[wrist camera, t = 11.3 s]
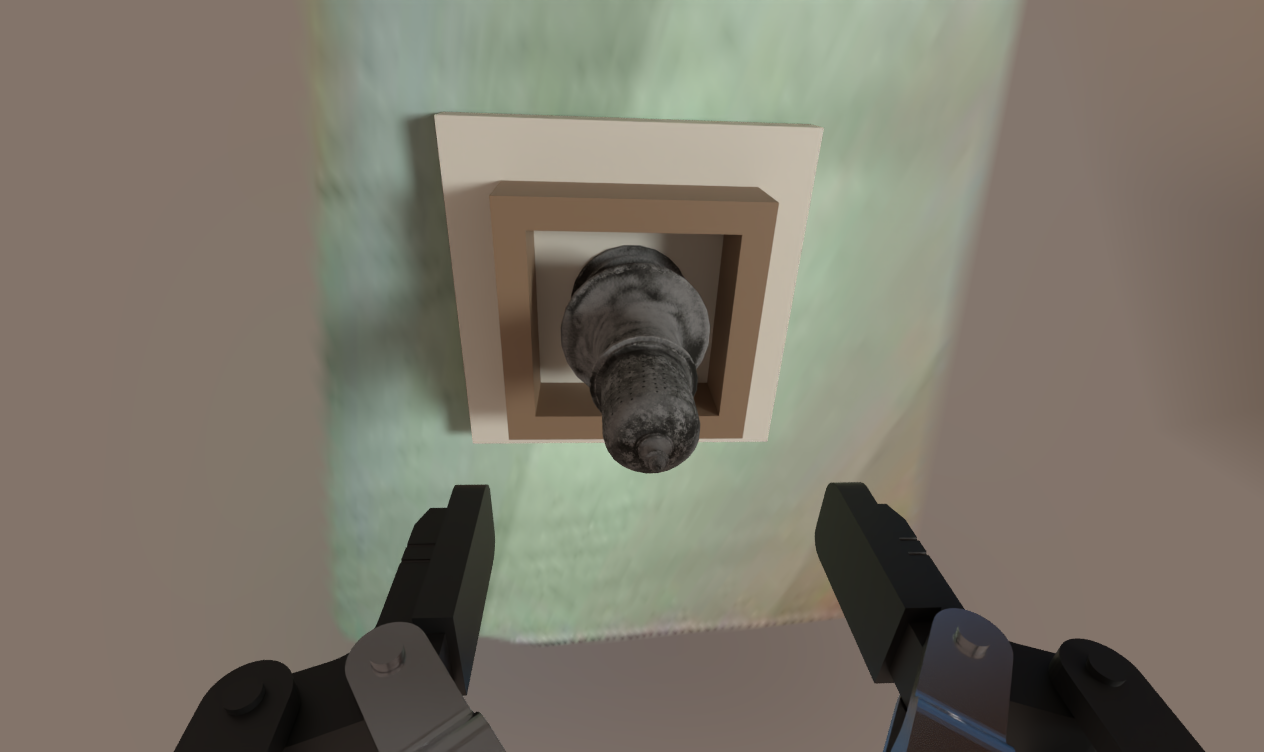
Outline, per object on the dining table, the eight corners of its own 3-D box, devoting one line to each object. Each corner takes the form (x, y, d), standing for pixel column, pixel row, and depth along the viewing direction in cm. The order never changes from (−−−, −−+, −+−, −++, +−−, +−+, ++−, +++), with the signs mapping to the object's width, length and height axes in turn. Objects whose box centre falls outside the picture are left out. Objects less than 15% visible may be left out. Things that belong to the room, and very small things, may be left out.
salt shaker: (553, 246, 24) (525, 386, 14) (692, 230, 24) (771, 357, 14) (574, 368, 27) (564, 564, 16) (698, 353, 27) (768, 538, 16)
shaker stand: (443, 111, 23) (412, 122, 19) (811, 124, 24) (854, 136, 20) (478, 426, 30) (461, 481, 26) (759, 425, 31) (784, 478, 27)
